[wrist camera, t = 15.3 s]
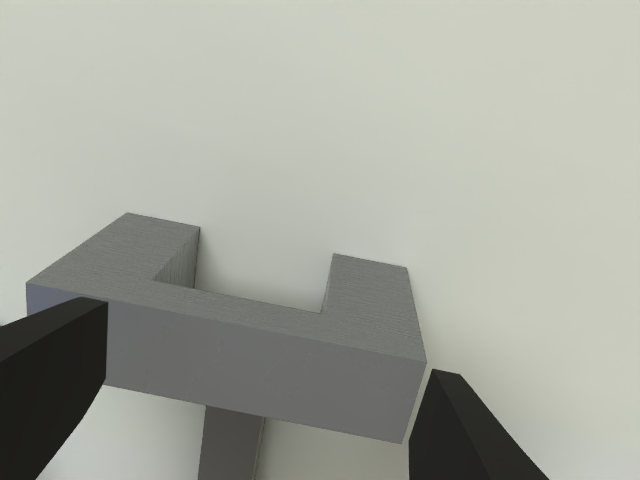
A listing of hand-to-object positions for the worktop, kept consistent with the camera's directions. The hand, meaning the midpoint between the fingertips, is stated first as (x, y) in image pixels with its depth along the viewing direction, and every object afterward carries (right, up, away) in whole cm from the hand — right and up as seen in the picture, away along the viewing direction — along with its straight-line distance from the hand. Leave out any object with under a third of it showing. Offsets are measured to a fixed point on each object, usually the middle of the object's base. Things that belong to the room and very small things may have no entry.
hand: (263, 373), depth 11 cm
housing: (-1, +2, +10) cm, 10 cm away
